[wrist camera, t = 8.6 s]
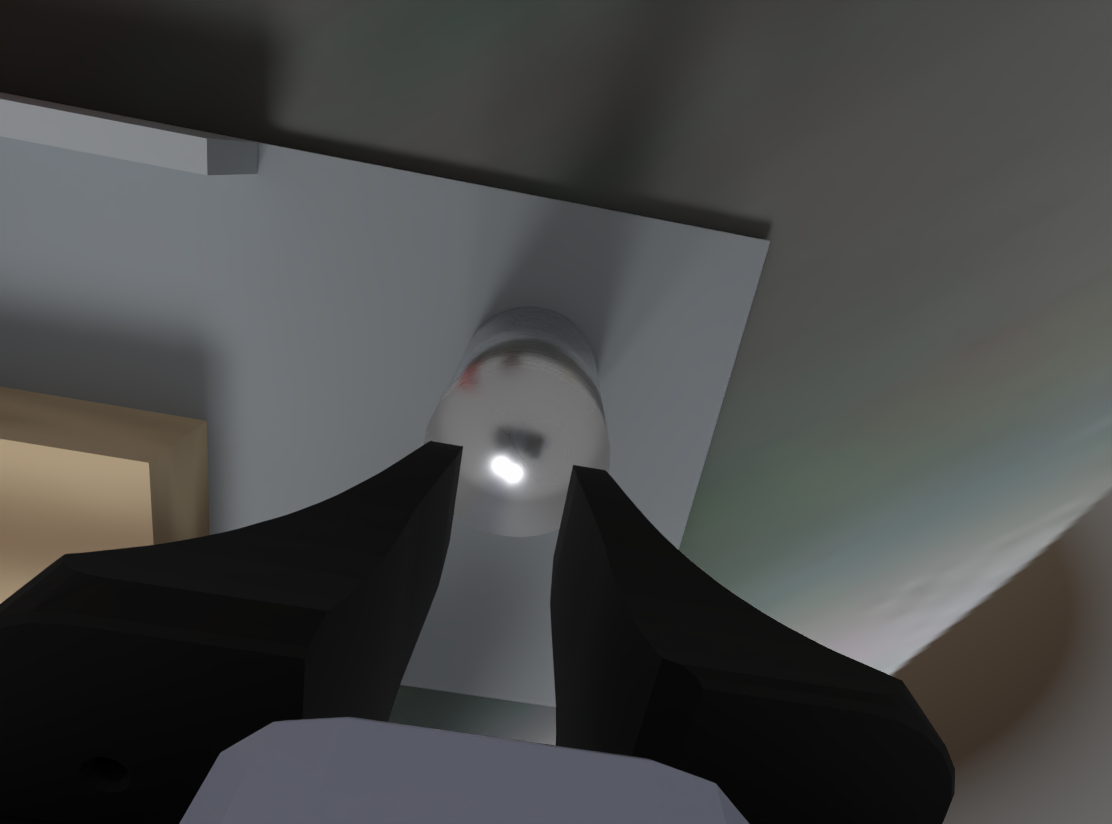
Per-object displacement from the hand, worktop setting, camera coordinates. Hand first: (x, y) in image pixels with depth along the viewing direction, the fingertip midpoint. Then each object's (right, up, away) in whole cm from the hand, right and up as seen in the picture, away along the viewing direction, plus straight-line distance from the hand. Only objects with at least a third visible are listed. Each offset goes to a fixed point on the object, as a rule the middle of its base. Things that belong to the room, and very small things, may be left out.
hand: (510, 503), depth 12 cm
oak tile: (-14, -1, +9) cm, 17 cm away
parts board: (-7, +1, +9) cm, 11 cm away
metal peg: (0, +3, +7) cm, 8 cm away
